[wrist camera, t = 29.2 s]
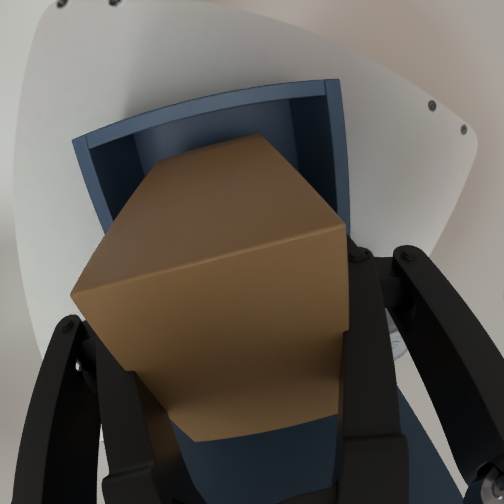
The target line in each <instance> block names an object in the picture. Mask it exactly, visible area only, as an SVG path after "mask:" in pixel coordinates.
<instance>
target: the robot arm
mask: <svg viewBox="0 0 504 504" xmlns="http://www.w3.org/2000/svg"><path fill="white" fill-rule="evenodd" d="M346 237H347V255H348V281H349V330H347V331H344V332H343V340H342V354H341V365H340V376H339V397H338V421H337V437H336V451H335V462H334V470H333V477H332V485H331V487H329V488H325V489H321V490H317V491H313V492H309V493H304V494H299V495H295V496H293V497H291V498H288V499H286V500H284V501H281V502H279V503H276V504H409V448H408V441H407V438H406V435H404V434H403V433H402V431H401V426H400V413H399V402H398V391H397V382H396V374H395V366H394V359H393V352H392V345H391V339H390V333H389V327H388V321H387V316H386V311H385V308H387V310H388V312H389V314H390V316H391V318H392V320H393V321H394V323H395V325H396V327H397V329H398V331H399V333H400V335H401V337H402V339H403V341H404V343H405V345H406V347H407V349H408V351H409V353H410V355H411V357H412V359H413V361H414V363H415V366H416V368H417V370H418V372H419V374H420V376H421V378H422V381H423V383H424V385H425V387H426V390H427V392H428V394H429V396H430V398H431V401H432V403H433V406H434V408H435V410H436V413H437V415H438V418H439V420H440V423H441V425H442V428H443V430H444V433H445V436H446V438H447V441H448V444H449V446H450V449H451V452H452V455H453V457H454V460H455V462H456V465H457V467H458V469H459V471H460V473H461V475H462V477H463V479H464V481H465V482H466V484H467V485H468V486H469V487H468V489H467V491H466V493H465V497H464V499H463V504H504V358H503V357H502V355H501V353H500V352H499V350H498V349H497V347H496V346H495V344H494V343H493V341H492V340H491V338H490V337H489V335H488V334H487V332H486V331H485V329H484V328H483V326H482V325H481V323H480V322H479V321H478V319H477V318H476V316H475V315H474V314H473V312H472V311H471V310H470V308H469V307H468V306H467V304H466V303H465V302H464V300H463V299H462V298H461V296H460V295H459V294H458V293H457V291H456V290H455V289H454V288H453V286H452V285H451V284H450V282H449V281H448V280H447V279H446V277H445V276H444V275H443V274H442V273H441V271H440V270H439V269H438V268H437V267H436V265H435V264H434V263H433V262H432V261H431V260H430V258H429V257H428V256H427V255H426V254H425V253H424V252H423V251H422V250H421V249H420V248H417V247H415V246H410V245H402V246H399V247H397V248H396V249H395V250H394V252H393V257H374V256H373V254H372V252H371V251H369V250H368V249H366V248H363V247H357V245H356V244H355V243H354V241H353V240H352V239H351V238H350V237H349V235H348V234H347V233H346ZM76 362H77V363H78V364H79V370H76ZM101 424H102V431H103V438H104V444H105V450H106V456H107V461H108V466H109V475H108V476H106V477H105V478H104V479H103V480H102V492H103V497H104V501H105V504H206V502H205V500H204V498H203V497H202V495H201V494H200V493H199V491H198V490H197V489H196V487H195V486H194V484H193V481H192V479H191V476H190V474H189V471H188V469H187V466H186V464H185V461H184V459H183V456H182V453H181V450H180V448H179V445H178V442H177V439H176V436H175V433H174V430H173V427H172V424H171V421H170V418H169V415H168V412H167V411H166V410H165V409H164V407H163V406H162V405H161V404H160V403H159V401H158V400H157V399H156V398H155V397H154V395H153V394H152V393H151V392H150V390H149V389H148V388H147V387H146V385H145V384H144V383H143V381H142V380H141V379H140V378H139V376H138V375H137V374H136V372H135V371H125V370H124V368H123V367H122V366H121V365H120V364H119V362H118V361H117V360H116V359H115V357H114V356H113V355H112V354H111V352H110V351H109V350H108V349H107V347H106V346H105V345H104V343H103V342H102V341H101V339H100V338H99V337H98V335H97V334H96V333H95V331H94V330H93V329H92V327H91V326H90V325H89V323H88V322H87V320H85V321H83V322H82V321H81V319H80V318H79V316H77V315H75V314H74V315H69V316H66V317H64V318H63V319H61V321H60V322H59V323H58V324H57V326H56V327H55V330H54V332H53V335H52V337H51V340H50V343H49V345H48V348H47V351H46V354H45V356H44V359H43V362H42V365H41V368H40V371H39V374H38V377H37V380H36V384H35V387H34V390H33V394H32V397H31V401H30V404H29V408H28V412H27V416H26V420H25V424H24V428H23V433H22V437H21V442H20V447H19V453H18V459H17V465H16V472H15V479H14V487H13V498H12V502H11V504H97V467H98V451H99V439H100V428H101Z"/></svg>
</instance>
